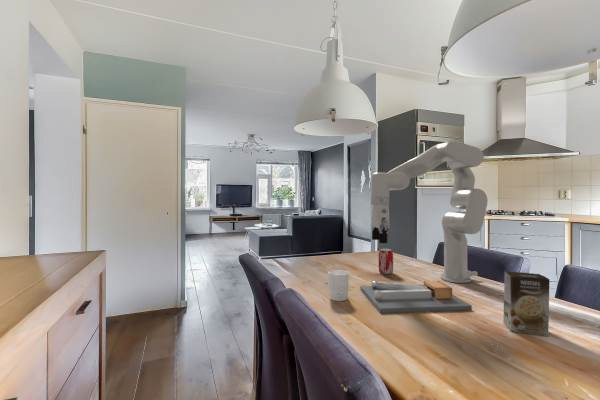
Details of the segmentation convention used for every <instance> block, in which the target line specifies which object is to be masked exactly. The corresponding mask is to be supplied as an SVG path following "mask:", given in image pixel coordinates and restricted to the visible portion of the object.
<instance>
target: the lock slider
mask: <svg viewBox="0 0 600 400" xmlns="http://www.w3.org/2000/svg"><path fill="white" fill-rule="evenodd" d="M423 285H424V286H427V289H429V290H431V291H435V298H436V299H446V298H452V295H453V288H452V286H449V285H447V284H445V283H444V282H442V281H440V280H424V281H423Z"/></svg>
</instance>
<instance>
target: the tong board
mask: <svg viewBox="0 0 600 400" xmlns="http://www.w3.org/2000/svg"><path fill="white" fill-rule="evenodd" d="M421 285H422V286H424V284H421ZM359 290H360V292H362V294H363V296H365V297H366V298H367V299H368V301H369V302H370V303H371V305H373V306H374V308H375V309H376V310H377V311H378V313H380V314H386V313H387V314H389V313H390V314H393V313H394V314H395V313H419V312H420V313H421V312H448V311H449V312H450V311H451V312H452V311H453V312H454V311H456V312H457V311H472V310H473V307H472V305H471V303H470V304H469V303H468V302H467V301H464V300H462V299H461V298H460V297H458V296H456V295H454V294H452V298H446V299H436V298H435V291H431V290H429V289H417V290H387V289H377V288H372V285H364V286H363V285H361V286H360V289H359Z"/></svg>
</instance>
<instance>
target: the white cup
mask: <svg viewBox="0 0 600 400" xmlns="http://www.w3.org/2000/svg"><path fill="white" fill-rule="evenodd" d="M327 275H328V278H327V279H328V288H329V289H328V291H329V299H330V300H331V301H334V302H344V301H347V300H348V296H349V283H350V282H349V280H350V278H349V277H350V272H349V271H348V270H343V269H331V270H328V272H327Z"/></svg>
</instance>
